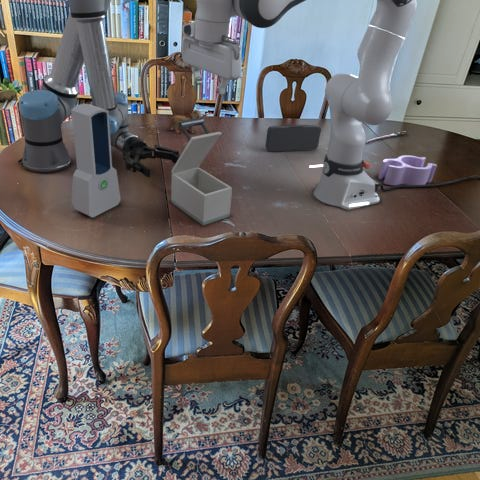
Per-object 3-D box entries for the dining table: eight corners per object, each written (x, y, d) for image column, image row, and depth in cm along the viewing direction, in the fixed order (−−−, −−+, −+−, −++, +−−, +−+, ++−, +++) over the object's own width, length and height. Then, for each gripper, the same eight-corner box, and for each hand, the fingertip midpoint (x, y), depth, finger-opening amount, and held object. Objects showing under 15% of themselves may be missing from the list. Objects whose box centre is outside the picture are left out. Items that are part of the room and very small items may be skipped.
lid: (221, 133, 132) (208, 110, 134) (192, 139, 126) (179, 115, 128) (199, 166, 146) (187, 145, 147) (172, 173, 140) (159, 151, 141)
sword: (403, 131, 224) (404, 129, 223) (408, 133, 222) (409, 131, 221) (360, 143, 208) (360, 140, 207) (365, 145, 206) (366, 142, 205)
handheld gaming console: (315, 147, 196) (319, 124, 190) (317, 149, 194) (322, 126, 188) (264, 149, 189) (267, 125, 183) (266, 152, 187) (269, 127, 181)
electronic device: (90, 219, 132) (80, 115, 116) (71, 210, 135) (59, 108, 119) (121, 203, 141) (116, 105, 125) (103, 195, 144) (96, 99, 128)
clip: (390, 188, 168) (396, 170, 164) (372, 173, 178) (376, 156, 174) (435, 185, 175) (441, 168, 171) (415, 170, 184) (420, 154, 181)
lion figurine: (198, 128, 202) (199, 107, 197) (202, 132, 198) (203, 111, 193) (165, 129, 197) (165, 108, 192) (167, 134, 193) (168, 112, 188)
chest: (229, 216, 141) (232, 187, 136) (203, 225, 135) (204, 196, 130) (197, 194, 151) (198, 166, 146) (171, 202, 145) (171, 173, 140)
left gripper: (162, 150, 172) (197, 171, 160) (100, 163, 157) (133, 188, 145) (162, 130, 168) (198, 151, 156) (98, 142, 153) (133, 166, 141)
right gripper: (250, 40, 111) (244, 98, 118) (197, 24, 123) (195, 78, 130) (230, 41, 107) (225, 101, 115) (177, 25, 119) (176, 80, 127)
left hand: (167, 169), depth 150 cm, fingers open, 13 cm apart
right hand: (209, 88), depth 123 cm, fingers open, 8 cm apart
